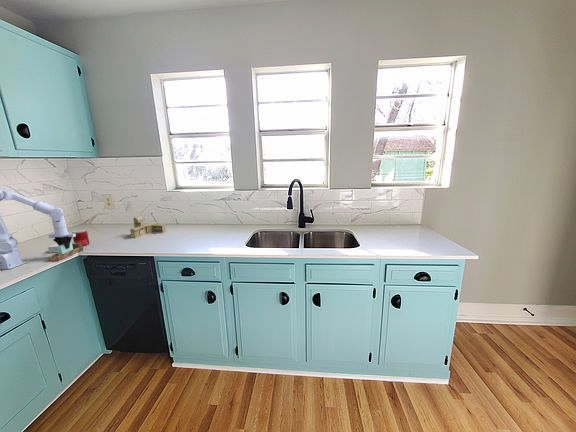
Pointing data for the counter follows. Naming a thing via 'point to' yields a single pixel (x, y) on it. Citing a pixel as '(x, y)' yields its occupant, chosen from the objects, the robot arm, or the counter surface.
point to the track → (67, 253)
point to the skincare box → (53, 248)
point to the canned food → (81, 237)
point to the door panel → (64, 249)
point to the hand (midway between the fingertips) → (65, 248)
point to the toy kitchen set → (145, 228)
